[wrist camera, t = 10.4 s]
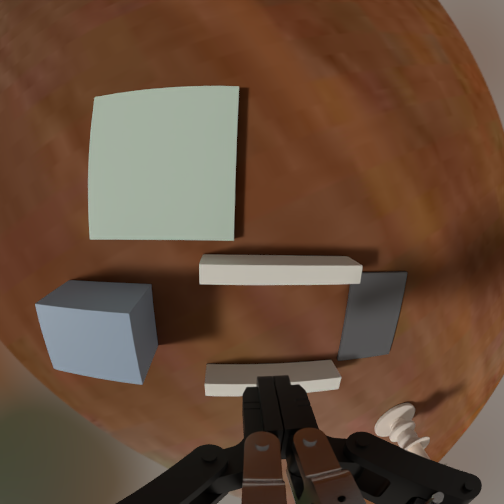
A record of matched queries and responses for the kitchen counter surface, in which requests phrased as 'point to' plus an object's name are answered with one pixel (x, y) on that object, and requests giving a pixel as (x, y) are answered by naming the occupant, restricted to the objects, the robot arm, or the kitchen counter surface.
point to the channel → (309, 273)
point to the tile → (164, 164)
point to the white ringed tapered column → (402, 429)
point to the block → (100, 329)
